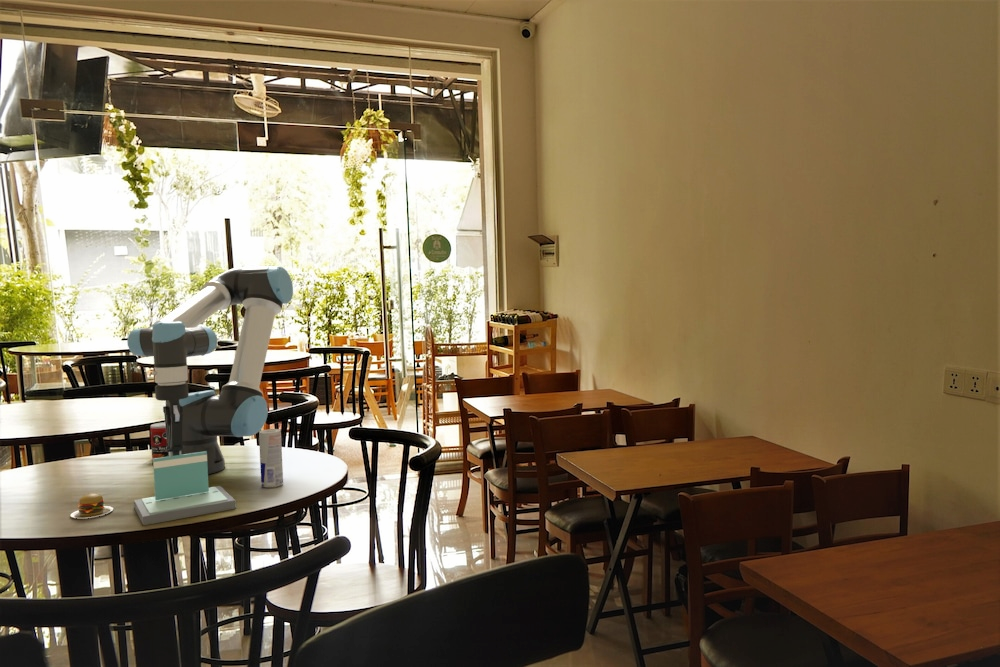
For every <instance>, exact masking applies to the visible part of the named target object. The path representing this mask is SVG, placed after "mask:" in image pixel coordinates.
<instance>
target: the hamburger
mask: <svg viewBox="0 0 1000 667" xmlns="http://www.w3.org/2000/svg"><path fill="white" fill-rule="evenodd" d="M77 507H78V510H75V511H74V512H72V513H70V516H69V517H71V518H73V519H76V518H77V520H87V519H88V518H89V519H95V518H99V516H100V517H103V516H106V515H107V514H109V513H111V512H113V510H114V507H113V506H110V505H109V506H107V505H106V503H105V500H104V498H103V496H102V495H101V494H100V493H99V494H98V493H94V492H93V493H87V494H84V495H83V496H81V497H80V499H79V500H78V506H77ZM104 510H107V511H108V512H105V513H103V512H104ZM109 510H110V511H109ZM78 514H79V515H80V517H76V516H77V515H78ZM105 514H106V515H105ZM90 516H91V517H90Z"/></svg>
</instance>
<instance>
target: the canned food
mask: <svg viewBox="0 0 1000 667" xmlns="http://www.w3.org/2000/svg"><path fill="white" fill-rule="evenodd" d="M150 445H151V447H150V448H151V458H152V459H153V458H160V457H168V456H169V452H167V449H168V446H167V438H166V426H165V421H164V422H157V423H153V424H151V425H150Z"/></svg>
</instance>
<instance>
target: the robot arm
mask: <svg viewBox="0 0 1000 667" xmlns="http://www.w3.org/2000/svg"><path fill="white" fill-rule="evenodd" d="M293 294H294V286H293V281H292V278H291V276H290V274H289V272H288V271H287V269H285V268H284V267H283V266H279V265H278V266H276V265H265V266H237V267H234V268H233V267H232V268H231V269H228V270H226V271H223V272H221V273H220V274H217V275H216V276H214V277H213V278H211V279H210V280H208V281H207V282H205V283H204V284H203V285H202V287H201V289H200V291H198V292H197V293H196V294H194V295H193V296H191V297H190V298H188V299H187V300H185V301H184V302H182V303H181V304H180V305H179V306H177V307H176V308H174V309H173V310H172V311H170V312H169V313H167V314H166V315H165V316H163V317H162V318H160V319H159V320H157V321H156V322H154V323H153V324H152V325H150V326H148V327H140V328H134V329H133V330H131V331H130V332H129V334H128V336H127V347H128V349H129V352H130V353H131V354H132V355H134V356H138V357H146V358H148V357H153V368H154V370H153V371H152V372H151V375H152V376H154V382H155V383H156V385H155V386H154V392H155V400H157V401H162V402H163V401H164V402H165V405H163V406H162V412H163V415H164V422H165V426H166V438H167V446H168V449H167V452H169V456H175V455H182V454H190V453H197V452H204V451H206V452H207V466H208V475H211V474H214V473H218V472H220V471H223V470H224V469H225V468H226V463H225V462H226V460H225V458H224V455H223V453H222V450H221V448H220V446H219V443H218V437H236V438H243V437H252V436H255V435H256V434H258V433H259V432H260V431H262V430H263V428H264V425H265V423H266V422H267V418H268V415H269V414H268V413H269V410H268V403H267V400H266V399H265V397H263V396H264V393H263V391H262V390H261V388H260V385H261V380H262V376H263V371H264V367H265V362H266V357H267V353H268V349H269V344H270V339H271V335H272V332H273V326H274V322H275V316H276V315H278V314H281V312H282V310H283V305H286V304H289V303H290V301H292V299H293V296H294V295H293ZM233 305H242V306H243V308H244V309H245V313H244V316H243V320H242V321H243V322H242V325H241V330H240V333H239V336H238V337H239V339H238V342H237V345H236V350H235V355H234V359H233V364H232V367H231V372H230V376H229V380H228V382H227V383H226V384H224V385H222V387H221V390H220V392H219V393H220V394H219V395H217V394H216V392H215V390H214V389H210V390H209V389H208V390H203V391H202V390H201V391H196V392H189V384H188V383H187V381H188V380H189V376H188V375H189V373H188V364H187V363H188V362H187V358H190V357H199V356H202V357H203V356H205V355H208V354H211V353H213V352H214V351H215V349H216V347H217V345H218V337H217V334H216V333H215V330H213V329H212V328H210V327H209V326H208V327H207V326H199V325H201V324H202V323H204V322H205V321H206V320H208V319H209V318H210V317H211V316H212V315H213V314H216V312H218V311H222V310H223V311H224V310H225V309H228V307H230V306H233Z"/></svg>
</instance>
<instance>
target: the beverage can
mask: <svg viewBox="0 0 1000 667" xmlns="http://www.w3.org/2000/svg"><path fill="white" fill-rule="evenodd" d="M281 431H282V430H281V429H279V428H269V429H261V430H260V431H259V432H258V433H259V434H258V442H259V444H258V445H259V463H260V464H259V465H260V467H259V468H260V482H261V483H260V484H261V485H260V486H262V487H263V488H267V489H272V488H273V489H274V488H279V487H280V486H282V485H283V484H284V472H283V469H284V468H283V467H284V466H283V451H282V450H283V449H282V448H283V446H282V445H283V444H282V432H281Z"/></svg>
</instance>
